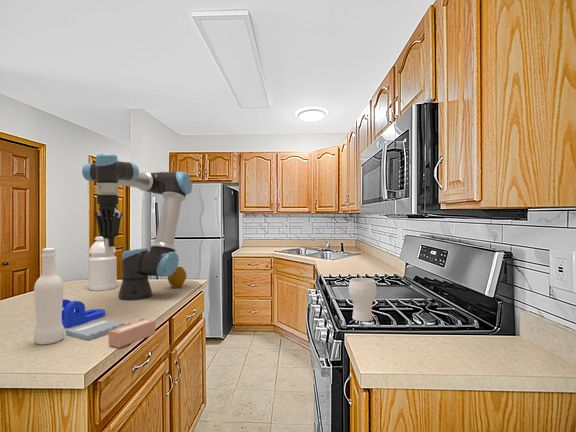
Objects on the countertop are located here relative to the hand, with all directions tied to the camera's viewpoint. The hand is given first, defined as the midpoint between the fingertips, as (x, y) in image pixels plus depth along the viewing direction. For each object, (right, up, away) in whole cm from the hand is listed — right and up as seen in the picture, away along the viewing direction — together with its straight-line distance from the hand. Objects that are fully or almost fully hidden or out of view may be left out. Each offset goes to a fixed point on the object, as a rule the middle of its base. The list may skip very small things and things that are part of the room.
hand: (109, 254), depth 141 cm
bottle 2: (-31, -24, +54) cm, 67 cm away
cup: (+99, -25, 0) cm, 102 cm away
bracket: (-9, -25, -2) cm, 27 cm away
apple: (+9, -24, +57) cm, 62 cm away
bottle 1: (-8, -25, -24) cm, 36 cm away
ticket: (+3, -25, -15) cm, 29 cm away
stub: (+19, -25, -23) cm, 39 cm away
